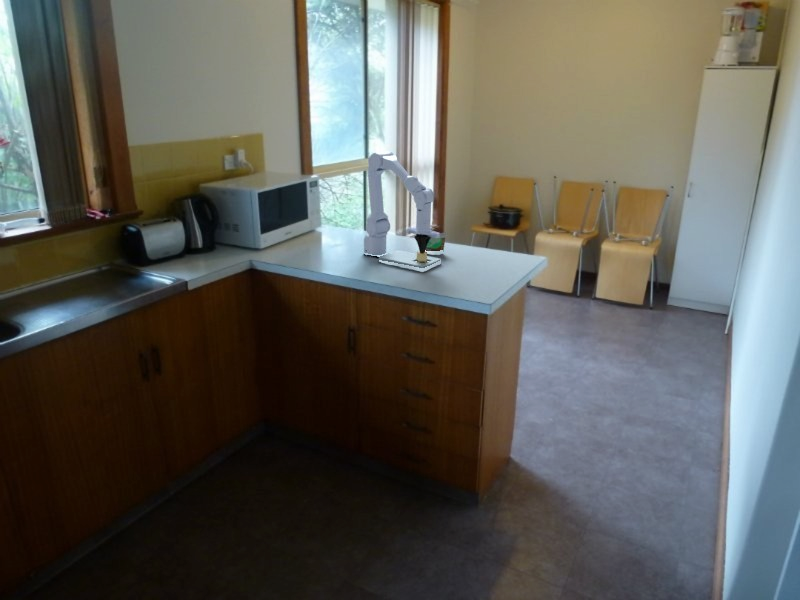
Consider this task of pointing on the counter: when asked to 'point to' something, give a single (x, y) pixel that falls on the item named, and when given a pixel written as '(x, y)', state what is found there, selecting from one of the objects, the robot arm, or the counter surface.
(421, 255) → the gold metal cylinder
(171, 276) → the counter surface
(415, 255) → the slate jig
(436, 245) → the food container
